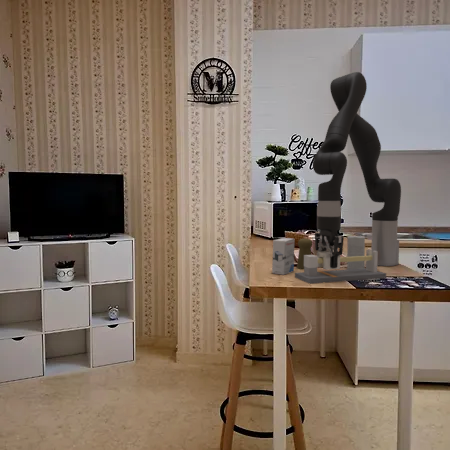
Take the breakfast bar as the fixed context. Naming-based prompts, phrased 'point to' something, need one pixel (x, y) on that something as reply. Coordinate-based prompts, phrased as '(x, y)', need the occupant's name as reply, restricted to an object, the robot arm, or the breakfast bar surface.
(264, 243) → the breakfast bar surface
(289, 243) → the ink box
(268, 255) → the breakfast bar surface
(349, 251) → the skincare box
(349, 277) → the cable board
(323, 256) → the sleeve
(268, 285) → the breakfast bar surface
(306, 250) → the olive pawn shape
